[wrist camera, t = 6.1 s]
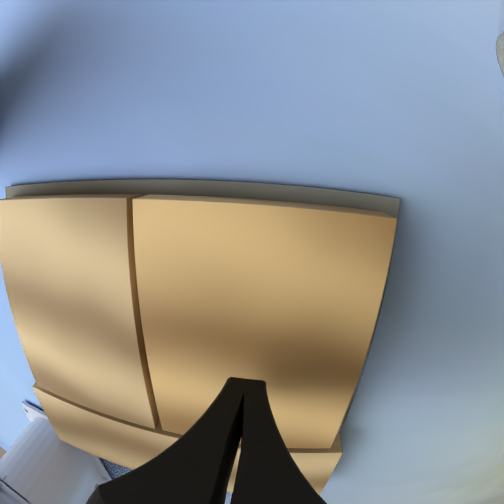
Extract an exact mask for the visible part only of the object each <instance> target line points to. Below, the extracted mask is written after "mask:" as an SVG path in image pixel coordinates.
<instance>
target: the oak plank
mask: <svg viewBox="0 0 504 504" xmlns="http://www.w3.org/2000/svg"><path fill="white" fill-rule="evenodd" d="M396 223H397V219H396V218H395V217H393V216H391V215H389V214H387V213H385V212H381V211H373V210H365V209H357V208H348V207H339V206H329V205H319V204H309V203H298V202H286V201H274V200H260V199H246V198H229V197H210V196H187V195H153V194H149V195H145V196H142V197H138V198H135V199H133V231H134V250H135V264H136V276H137V287H138V297H139V306H140V314H141V321H142V329H143V336H144V342H145V348H146V354H147V360H148V366H149V371H150V377H151V382H152V387H153V392H154V396H155V401H156V405H157V410H158V414H159V418H160V422H161V426H162V430H164V431H168V432H173V433H177V434H182V435H184V434H185V433H186V432H187V431H188V430H189V429H190V428H191V427H192V426H193V425H194V424H195V422H196V421H197V420H198V419H199V418H200V417H201V416H202V415H203V414H204V413H205V411H206V410H207V409H208V407H209V406H210V405H211V404H212V402H213V401H214V400H215V398H216V397H217V396H218V394H219V393H220V391H221V390H222V388H223V386H224V385H225V383H226V381H227V379H228V378H230V377H236V378H245V379H255V380H264V381H265V382H266V389H267V395H268V400H269V404H270V408H271V411H272V414H273V417H274V419H275V422H276V425H277V427H278V430H279V432H280V435H281V437H282V439H283V441H284V443H285V445H286V447H287V448H312V449H319V448H331V446H332V444H333V441H334V439H335V437H336V434H337V432H338V430H339V427H340V425H341V423H342V420H343V418H344V415H345V413H346V410H347V408H348V405H349V402H350V400H351V397H352V394H353V392H354V389H355V386H356V383H357V381H358V378H359V375H360V372H361V369H362V366H363V363H364V360H365V357H366V353H367V350H368V347H369V344H370V340H371V337H372V333H373V330H374V326H375V322H376V319H377V315H378V311H379V307H380V303H381V299H382V295H383V291H384V286H385V282H386V277H387V273H388V268H389V263H390V258H391V252H392V247H393V241H394V235H395V229H396ZM239 444H241V440H240V443H239Z"/></svg>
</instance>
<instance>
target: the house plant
mask: <svg viewBox="0 0 504 504" xmlns="http://www.w3.org/2000/svg"><path fill="white" fill-rule="evenodd" d="M496 51H497V56H498V62H499V64H500V67H501V70H502V73H503V76H504V32H503V33H502V34H501V35H500V36H499V37H498V40H497V42H496Z"/></svg>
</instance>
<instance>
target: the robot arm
mask: <svg viewBox="0 0 504 504" xmlns="http://www.w3.org/2000/svg"><path fill="white" fill-rule="evenodd" d="M21 406H22V407H23V409H24V411H25V413H26V415H27V417H28V418H29V420H30V422H31V423H30V424H29V425H28V426H27V428H26V429H25V430H24V431H23V432H22V434H21V435H20V436H19V437H18V438H17V440H16V441H15V442H14V443H13V445H12V446H11V447H10V448H9V450H8V451H7V452H6V453H5V455H4V456H3V457H2V458H1V460H0V504H225V498H226V492H227V487H228V483H229V479H230V476H231V472H232V469H233V465H234V462H235V458H236V454H237V451H238V447H239V443H240V440H241V451H240V457H239V462H238V468H237V473H236V478H235V483H234V488H233V493H232V498H231V503H230V504H327V503H326V502H325V501H324V500H323V499H322V498H321V497H320V496H319V494H318V493H317V492H316V491H315V490H314V488H313V487H312V486H311V484H310V483H309V482H308V480H307V479H306V478H305V477H304V475H303V474H302V472H301V471H300V469H299V468H298V466H297V465H296V463H295V461H294V460H293V458H292V456H291V455H290V453H289V451H288V449H287V447H286V445H285V443H284V441H283V439H282V437H281V435H280V432H279V430H278V427H277V425H276V422H275V419H274V417H273V414H272V411H271V408H270V404H269V400H268V395H267V389H266V382H265V381H264V380H255V379H245V378H236V377H230V378H228V379H227V381H226V383H225V385H224V386H223V388H222V390H221V391H220V393H219V394H218V396H217V397H216V398H215V400H214V401H213V402H212V404H211V405H210V406H209V407H208V409H207V410H206V411H205V413H204V414H203V415H202V416H201V417H200V418H199V419H198V420H197V421H196V422H195V424H194V425H193V426H192V427H191V428H190V429H189V430H188V431H187V432H186V433H185V434H184V435H182V436H181V437H180V438H179V439H178V440H177V441H176V442H174V443H173V444H172V445H171V446H169V447H168V448H167V449H165V450H164V451H163V452H161V453H160V454H159V455H157V456H156V457H154V458H153V459H151V460H150V461H148V462H146V463H145V464H143V465H141V466H139V467H138V468H136V469H134V470H132V471H130V472H128V473H126V474H124V475H122V476H120V477H117V478H115V479H113V480H112V479H111V477H110V475H109V474H108V472H107V471H106V469H105V467H104V465H103V464H102V462H101V460H100V459H99V457H97V456H95V455H93V454H90V453H88V452H86V451H83V450H81V449H79V448H77V447H74V446H72V445H70V444H68V443H66V442H64V441H62V440H60V439H59V438H58V436H57V434H56V432H55V431H54V429H53V427H52V425H51V423H50V422H49V420H48V418H47V416H46V414H45V412H43V411H41V410H39V409H37V408H36V407H34V406H32V405H30V404H28V403H27V402H25V401H22V403H21Z"/></svg>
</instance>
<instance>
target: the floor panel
mask: <svg viewBox="0 0 504 504" xmlns="http://www.w3.org/2000/svg"><path fill="white" fill-rule="evenodd" d="M149 194H153V195H187V196H210V197H229V198H246V199H260V200H274V201H286V202H298V203H309V204H319V205H329V206H339V207H348V208H357V209H365V210H373V211H381V212H385V213H387V214H389V215H391V216H393V217H395V218H396V219H397V221H398V214H399V206H400V199H399V198H395V197H388V196H381V195H374V194H367V193H359V192H351V191H343V190H334V189H325V188H315V187H305V186H294V185H282V184H268V183H253V182H236V181H214V180H180V179H120V180H88V181H67V182H52V183H38V184H27V185H16V186H8V187H6V198H5V199H0V260H1V266H2V271H3V276H4V281H5V286H6V291H7V295H8V299H9V303H10V307H11V311H12V315H13V318H14V322H15V325H16V328H17V332H18V335H19V338H20V341H21V344H22V347H23V350H24V353H25V355H26V358H27V361H28V363H29V366H30V369H31V371H32V374H33V376H34V378H35V381H36V383H35V384H34V385H33V386H32V387H33V389H34V392H35V394H36V396H37V398H38V400H39V402H40V404H41V406H42V408H43V410H44V412H45V414H46V416H47V418H48V420H49V422H50V423H51V425H52V427H53V429H54V431H55V432H56V434H57V436H58V438H59V439H60V440H62V441H64V442H66V443H68V444H70V445H72V446H74V447H77V448H79V449H81V450H83V451H86V452H88V453H90V454H93V455H95V456H97V457H100V458H102V459H105V460H107V461H110V462H113V463H115V464H118V465H121V466H124V467H127V468H130V469H133V470H134V469H136V468H138V467H139V466H141V465H143V464H145V463H146V462H148V461H150V460H151V459H153V458H154V457H156V456H157V455H159V454H160V453H161V452H163V451H164V450H165V449H167V448H168V447H169V446H171V445H172V444H173V443H174V442H176V441H177V440H178V439H179V438H180V437H181V436H182V434H177V433H173V432H168V431H164V430H162V426H161V422H160V418H159V414H158V410H157V405H156V401H155V396H154V392H153V387H152V382H151V377H150V371H149V366H148V360H147V354H146V348H145V342H144V336H143V329H142V321H141V314H140V306H139V297H138V287H137V276H136V264H135V250H134V231H133V199H135V198H138V197H142V196H145V195H149ZM396 228H397V223H396ZM395 235H396V229H395ZM395 235H394V241H395ZM394 241H393V247H394ZM393 247H392V252H391V258H392V253H393ZM391 258H390V263H389V268H388V273H387V277H386V282H385V286H384V291H383V295H382V299H381V303H380V307H379V311H378V315H377V319H376V322H375V326H374V330H373V333H372V337H371V340H370V344H369V347H368V350H367V353H366V357H365V360H364V363H363V366H362V369H361V372H360V375H359V378H358V381H357V383H356V386H355V389H354V392H353V394H352V397H351V400H350V402H349V405H348V408H347V410H346V413H345V415H344V418H343V420H342V423H341V425H340V427H339V430H338V432H337V434H336V437H335V439H334V441H333V444H332V446H331V448H319V449H312V448H287V449H288V451H289V453H290V455H291V456H292V458H293V460H294V461H295V463H296V465H297V466H298V468H299V469H300V471H301V472H302V474H303V475H304V477H305V478H306V479H307V480H308V482H309V483H310V484H311V486H312V487H313V488H314V490H315V491H316V492H317V493H318V494H319V495H320V493H321V492H322V490H323V488H324V487H325V485H326V483H327V481H328V480H329V478H330V476H331V474H332V472H333V470H334V468H335V467H336V465H337V463H338V461H339V459H340V457H341V455H342V453H343V451H342V444H341V438H340V431H341V429H342V427H343V424H344V422H345V419H346V417H347V414H348V412H349V409H350V406H351V404H352V401H353V398H354V396H355V393H356V390H357V387H358V384H359V381H360V378H361V375H362V372H363V369H364V366H365V363H366V360H367V357H368V353H369V350H370V347H371V343H372V340H373V336H374V333H375V329H376V325H377V321H378V318H379V314H380V310H381V306H382V301H383V297H384V293H385V288H386V284H387V279H388V274H389V269H390V264H391ZM240 451H241V444H239V447H238V451H237V454H236V458H235V462H234V465H233V469H232V472H231V476H230V479H229V483H228V487H227V491H229V492H233V488H234V483H235V478H236V473H237V468H238V462H239V457H240Z"/></svg>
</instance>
